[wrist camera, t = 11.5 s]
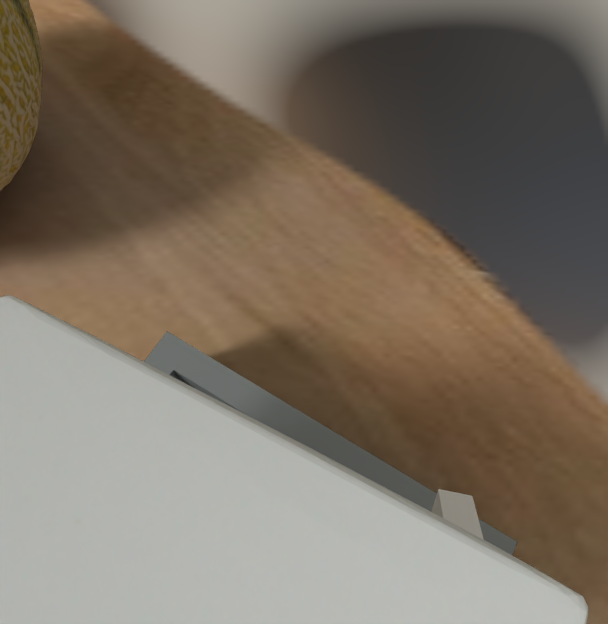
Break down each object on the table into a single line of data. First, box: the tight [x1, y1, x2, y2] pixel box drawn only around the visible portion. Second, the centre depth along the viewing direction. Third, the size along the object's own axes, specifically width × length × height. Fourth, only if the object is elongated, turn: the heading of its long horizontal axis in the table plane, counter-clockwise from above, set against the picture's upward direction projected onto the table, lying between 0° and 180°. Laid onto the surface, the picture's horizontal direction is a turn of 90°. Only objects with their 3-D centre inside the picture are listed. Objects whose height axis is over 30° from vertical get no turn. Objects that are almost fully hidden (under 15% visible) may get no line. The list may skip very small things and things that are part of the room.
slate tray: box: [144, 331, 517, 555], centre depth 17 cm, size 13×13×4 cm
